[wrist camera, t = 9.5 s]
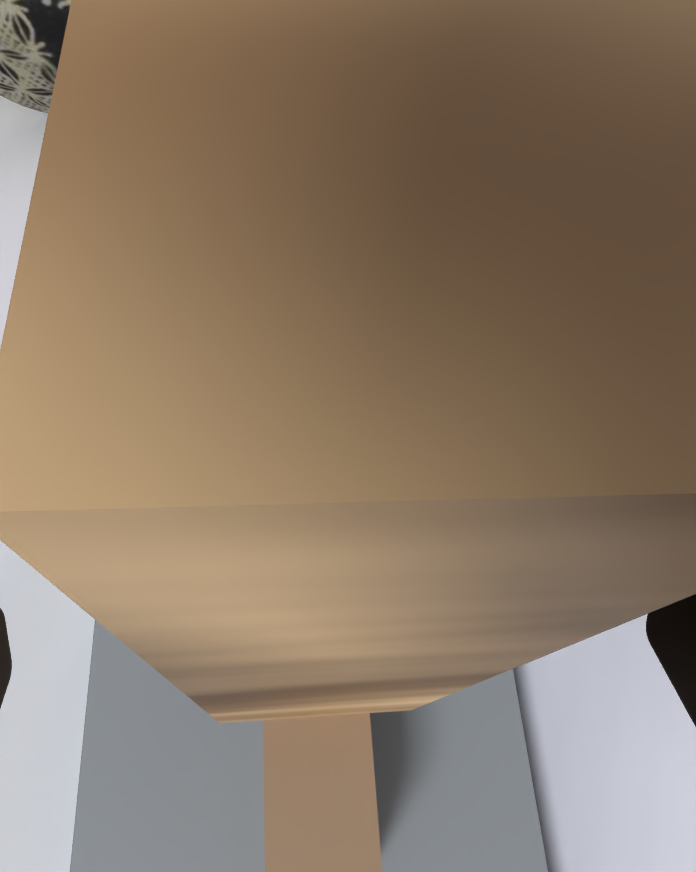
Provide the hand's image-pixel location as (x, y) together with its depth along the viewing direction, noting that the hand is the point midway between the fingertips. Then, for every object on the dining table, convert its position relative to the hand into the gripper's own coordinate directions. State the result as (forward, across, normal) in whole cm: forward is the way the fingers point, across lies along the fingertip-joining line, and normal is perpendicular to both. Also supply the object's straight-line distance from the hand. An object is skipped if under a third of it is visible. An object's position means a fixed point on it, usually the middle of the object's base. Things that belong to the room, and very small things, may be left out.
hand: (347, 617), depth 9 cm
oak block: (+6, 0, +4) cm, 8 cm away
